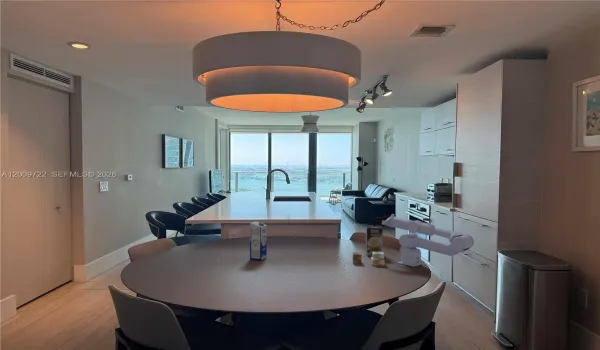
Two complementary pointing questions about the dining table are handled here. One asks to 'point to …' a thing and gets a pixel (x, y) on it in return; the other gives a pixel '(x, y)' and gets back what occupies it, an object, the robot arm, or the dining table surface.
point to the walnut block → (357, 258)
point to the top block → (378, 255)
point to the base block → (377, 262)
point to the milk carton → (258, 241)
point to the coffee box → (373, 240)
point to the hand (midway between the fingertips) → (378, 218)
